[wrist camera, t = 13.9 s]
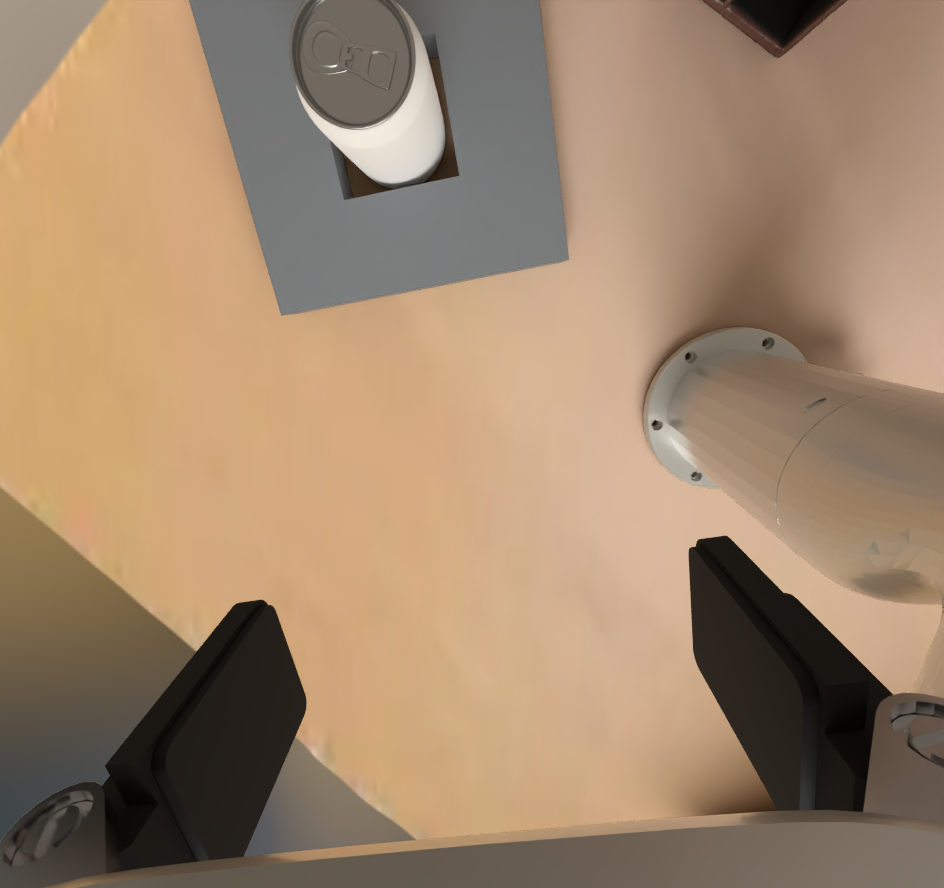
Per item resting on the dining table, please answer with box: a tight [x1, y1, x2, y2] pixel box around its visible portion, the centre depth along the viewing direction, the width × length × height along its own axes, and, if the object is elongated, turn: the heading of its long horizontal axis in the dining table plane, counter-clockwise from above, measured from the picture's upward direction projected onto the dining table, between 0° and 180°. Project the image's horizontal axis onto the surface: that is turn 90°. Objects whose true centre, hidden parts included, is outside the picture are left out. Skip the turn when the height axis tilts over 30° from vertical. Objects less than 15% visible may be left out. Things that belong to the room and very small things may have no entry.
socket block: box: [189, 0, 569, 316], centre depth 31 cm, size 20×20×3 cm
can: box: [289, 0, 445, 189], centre depth 27 cm, size 6×6×12 cm
